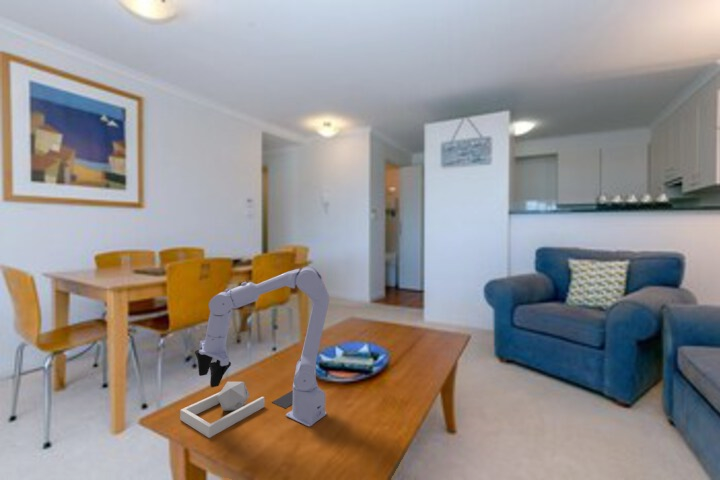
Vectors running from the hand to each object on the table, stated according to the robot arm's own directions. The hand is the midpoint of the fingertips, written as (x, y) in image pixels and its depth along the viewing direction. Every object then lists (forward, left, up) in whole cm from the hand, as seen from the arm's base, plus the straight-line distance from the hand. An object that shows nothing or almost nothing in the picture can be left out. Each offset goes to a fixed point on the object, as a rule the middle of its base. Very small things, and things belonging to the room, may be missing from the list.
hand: (208, 380), depth 94 cm
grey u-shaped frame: (-1, -5, -11) cm, 12 cm away
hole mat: (-11, -22, -11) cm, 27 cm away
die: (-1, -8, -12) cm, 14 cm away
